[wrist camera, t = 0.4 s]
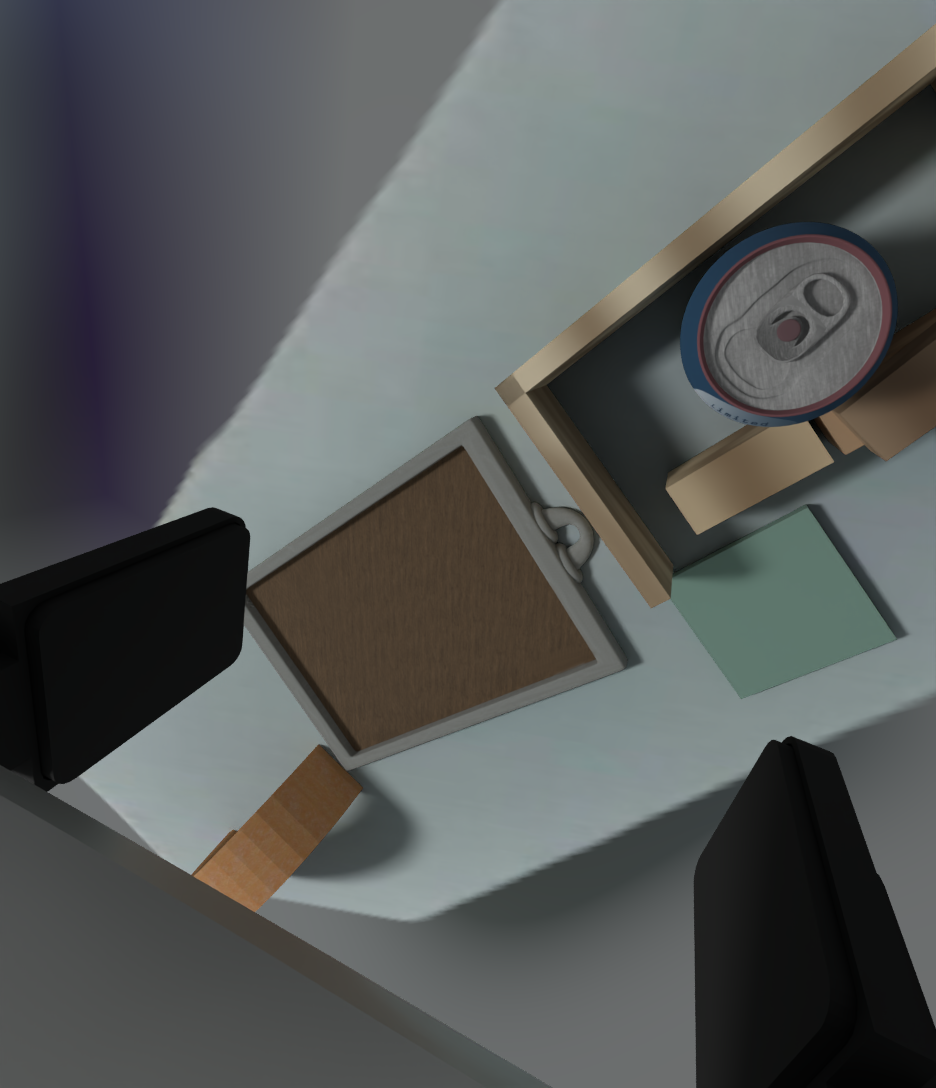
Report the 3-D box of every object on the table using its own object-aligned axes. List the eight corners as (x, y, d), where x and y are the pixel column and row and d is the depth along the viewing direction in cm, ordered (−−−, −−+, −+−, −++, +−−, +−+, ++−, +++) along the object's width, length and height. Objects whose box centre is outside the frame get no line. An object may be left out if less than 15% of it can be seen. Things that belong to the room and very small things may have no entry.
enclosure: (947, 33, 24) (1005, -35, 19) (1125, 325, 25) (1218, 324, 20) (519, 380, 35) (494, 388, 30) (655, 573, 36) (651, 608, 31)
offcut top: (962, 300, 23) (989, 297, 21) (1010, 348, 23) (1042, 350, 21) (827, 407, 26) (839, 414, 24) (870, 450, 26) (886, 461, 24)
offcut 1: (787, 399, 30) (799, 409, 27) (817, 446, 30) (834, 462, 27) (668, 472, 34) (665, 488, 30) (696, 513, 34) (697, 534, 30)
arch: (365, 788, 52) (298, 882, 43) (267, 868, 61) (196, 959, 52) (320, 742, 52) (244, 827, 43) (228, 830, 61) (151, 914, 52)
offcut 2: (946, 301, 27) (985, 296, 23) (980, 354, 27) (1023, 357, 23) (796, 393, 30) (810, 402, 26) (827, 440, 30) (845, 455, 27)
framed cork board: (219, 591, 48) (505, 393, 34) (232, 583, 49) (512, 390, 35) (346, 772, 50) (665, 655, 36) (355, 760, 51) (666, 643, 37)
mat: (806, 504, 31) (807, 507, 31) (893, 634, 32) (896, 639, 32) (660, 580, 36) (659, 584, 35) (740, 693, 36) (741, 698, 36)
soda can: (746, 426, 31) (775, 475, 21) (654, 338, 31) (636, 342, 21) (865, 321, 28) (972, 316, 17) (762, 224, 28) (806, 159, 17)
